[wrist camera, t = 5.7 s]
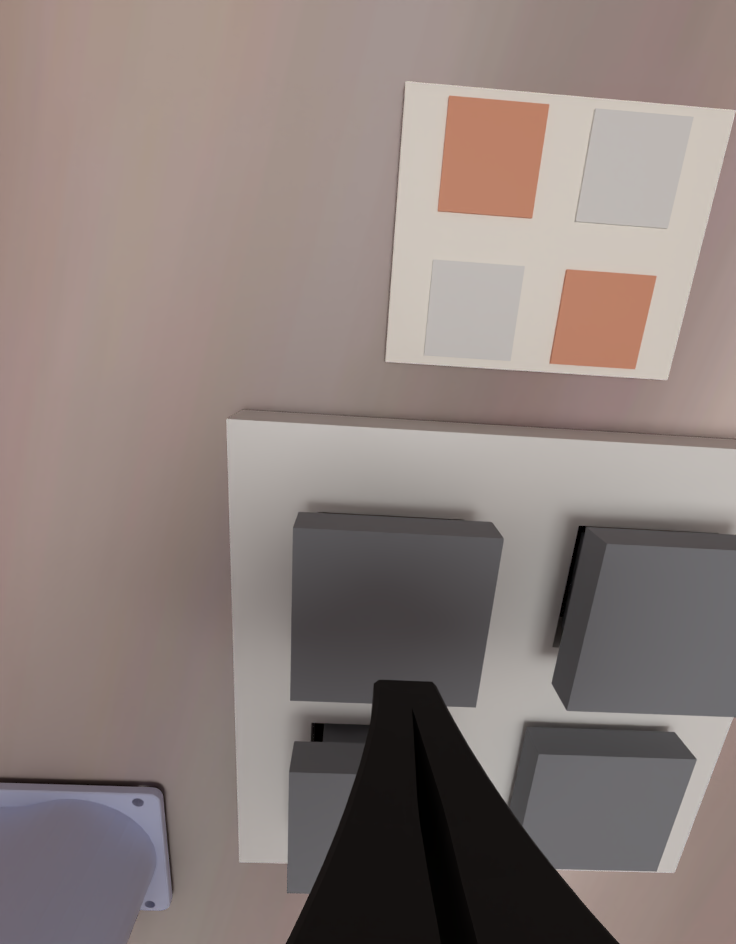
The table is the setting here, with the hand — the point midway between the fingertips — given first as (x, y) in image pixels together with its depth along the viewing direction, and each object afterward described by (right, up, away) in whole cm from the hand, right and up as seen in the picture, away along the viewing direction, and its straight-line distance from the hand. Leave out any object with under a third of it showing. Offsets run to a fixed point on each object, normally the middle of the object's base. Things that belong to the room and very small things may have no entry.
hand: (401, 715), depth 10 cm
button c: (0, +2, +6) cm, 7 cm away
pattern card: (+5, +13, +4) cm, 15 cm away
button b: (+8, -7, +10) cm, 15 cm away
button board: (+4, -2, +9) cm, 10 cm away
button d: (+9, +1, +7) cm, 11 cm away
